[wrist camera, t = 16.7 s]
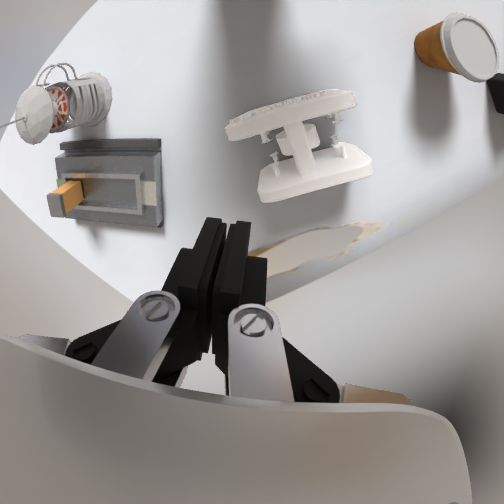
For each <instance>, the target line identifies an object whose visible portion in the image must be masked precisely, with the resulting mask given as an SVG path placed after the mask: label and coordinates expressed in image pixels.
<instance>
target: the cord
mask: <svg viewBox="0 0 504 504" xmlns="http://www.w3.org/2000/svg"><path fill="white" fill-rule="evenodd" d="M160 146H161V139H101V140H83V141H70V142H63V143H61V144H60V150H69V149H87V148H159V147H160Z"/></svg>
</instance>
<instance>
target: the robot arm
mask: <svg viewBox="0 0 504 504" xmlns="http://www.w3.org/2000/svg"><path fill="white" fill-rule="evenodd" d="M226 228H227V224H226V223H222V219H219V218H210V217H207V218H206V220H205V222H204V225H203V227H202V229H201V231H200V234H199V236H198V238H197V240H196V243H195V245H194V247H193V249H188V248H181V250H180V252H179V254H178V256H177V258H176V260H175V262H174V264H173V266H172V268H171V271H170V273H169V275H168V277H167V279H166V281H165V283H164V286H163V288H162V290H161V291H151V292H147V293H145V294H143V295H141V296H140V297H139V298H138V299H137V300H136V301H135V302H134V303H133V305H132V306H131V307H130V309H129V310H128V311H127V313H126V314H125V316H124V317H123V318H122V320H119V321H117V322H114V323H112V324H110V325H107V326H105V327H103V328H100V329H98V330H96V331H93V332H91V333H89V334H86V335H84V336H81V337H79V338H77V339H75V340H74V341H73V342H70V340H69V339H65V338H54V337H45V336H36V335H22V336H20V337H18V338H16V337H13V336H9V335H5V334H0V504H472V494H471V485H470V479H469V473H468V468H467V463H466V459H465V455H464V451H463V448H462V445H461V442H460V439H459V437H458V435H457V432H456V431H455V429H454V427H453V426H452V424H451V423H450V422H449V421H448V420H447V419H446V418H444V417H443V416H441V415H439V414H437V413H435V412H432V411H429V410H426V409H423V408H419V407H415V406H413V405H412V403H411V402H410V400H409V399H408V398H407V397H406V396H404V395H402V394H399V393H396V392H389V391H384V390H378V389H372V388H366V387H361V386H357V385H352V384H347V383H346V384H345V385H344V386H342V385H337V384H336V383H335V382H334V381H333V379H332V378H330V377H329V376H328V375H327V374H326V373H324V372H323V371H322V370H321V369H320V368H318V367H317V366H316V365H315V364H313V363H312V362H311V361H310V360H309V359H308V358H307V357H305V356H304V355H303V354H302V353H300V352H299V351H298V350H297V349H296V348H294V347H293V346H292V345H291V344H290V343H289V342H288V341H287V340H285V339H284V338H283V337H282V334H281V329H280V324H279V321H278V318H277V316H276V314H275V313H274V312H273V311H272V310H270V309H269V308H267V307H265V301H266V279H267V258H260V257H253V256H247V255H248V246H249V237H250V228H251V222H245V221H237V222H236V224H230V228H229V231H228V235H227V239H226ZM211 337H212V354H215V364H216V366H217V367H218V368H219V369H220V370H221V371H222V372H223V373H224V374H225V395H218V394H211V393H205V392H199V391H193V390H187V389H182V388H180V386H181V384H182V381H183V379H184V377H185V375H186V373H187V368H188V365H190V364H192V363H193V362H195V361H196V360H201V357H202V353H208V350H209V346H210V341H211Z"/></svg>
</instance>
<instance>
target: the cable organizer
mask: <svg viewBox="0 0 504 504" xmlns="http://www.w3.org/2000/svg"><path fill="white" fill-rule="evenodd" d="M354 106H356V101H355V97H354V94H353V91H349V90H340V89H328V90H323V91H318V92H314V93H310V94H307V95H303V96H299V97H293V98H290V99H286V100H284V101H281V102H278V103H275V104H272V105H267V106H263V107H260V108H257V109H254V110H251V111H248V112H246V113H245V114H242V115H240V116H238V117H236V118H233V119H230V120H229V122H230V123H229V124H228V125H227V126H226V127H225V131H226V134H227V136H228V138H229V141H238V140H242V139H246V138H249V137H252V136H255V135H258V134H260V136H261V138H262V143H261V144H263V143H269V141H271V140H273V139H270V140H269V139H268V138H267V135H269V134H270V133H272V132H268V131H270V130H274V129H277V128H280V127H284V131H281V132H280V133H278V134H277V135H276V140H277V142H278V144H279V147H280V149H281V152H282V154H283V155H287V156H288V155H293V158H290V159H287V160H283V161H280V162H279V159H278V157H277V154H278V153H280V152H277V151H276V152H275V153H272V154H270V155H271V156H272V157H273V160H274V163H271V164H270V165H268V166H266V167H264V168H263V169H261V171H260V175H259V182H258V189H257V192H258V195H259V197H260V200H261V201H262V202H264V203H272V202H277V201H281V200H285V199H288V198H292V197H295V196H299V195H302V194H306V193H309V192H313V191H317V190H320V189H324V188H328V187H332V186H335V185H339V184H343V183H347V182H351V181H355V180H358V179H362V178H365V177H367V176H369V175H371V174H372V173H373V172H374V168H373V163H372V160H371V159H370V158H369V157H368V156H367V155H366V154H365V153H364V152H362V151H361V150H360V149H359V148H358V147H356V146H355V145H353V144H347V143H348V142H339V143H338V142H337V139H336V138H338V137H337V136H339V135H335V134H334V135H333V136H329V137H331V138H330V139H332V142H333V145H331V146H334V147H330V148H326V149H322V150H318V151H315V152H312V150H311V149H313V148H316V147H317V146H319V144H320V140H319V137H318V133H317V130H316V127H315V125H314V124H311V123H307V124H303V122H302V121H304V120H308V119H312V118H316V117H320V116H323V115H327V116H326V118H330V117H333V116H334V118H335V121H332V122H334V123H340V122H341V121H343V120H341V119H340V115H339V112H340V111H344V110H347V109H350V108H352V107H354ZM332 113H333V115H332ZM334 123H333V124H334ZM271 156H270V157H271Z"/></svg>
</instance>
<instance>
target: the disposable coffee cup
mask: <svg viewBox="0 0 504 504" xmlns="http://www.w3.org/2000/svg"><path fill="white" fill-rule="evenodd" d="M414 45H415V50H416V53H417V55H418V56H419V58H420V59H421V60H422V61H423V62H424V63H425V64H426V65H428V66H430V67H433V68H438V69H441V70H445V71H449V72H452V73H456V74H459V75H462V76H464V77H465V78H467V79H468V80H470V81H473V82H484V81H486V80H488V79H489V78H491V77H493V76H494V75H495V73H496V72H497V69H498V66H499V53H498V49H497V46H496V43H495V41H494V39H493V37H492V35H491V33H490V32H489V30H488V29H487V28H486V27H485V26H484V25H483V24H482V23H481V22H480V21H478V20H477V19H475V18H473V17H471V16H468V15H466V14H463V13H453V14H450V15H448V16H447V17H446V18H445V19H444V21H442V22H440V23H438V24H436V25H434V26H432V27H430V28H428V29H426V30H424V31H422V32H420V33H419V34H418V35H417V36H416V38H415V42H414Z"/></svg>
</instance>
